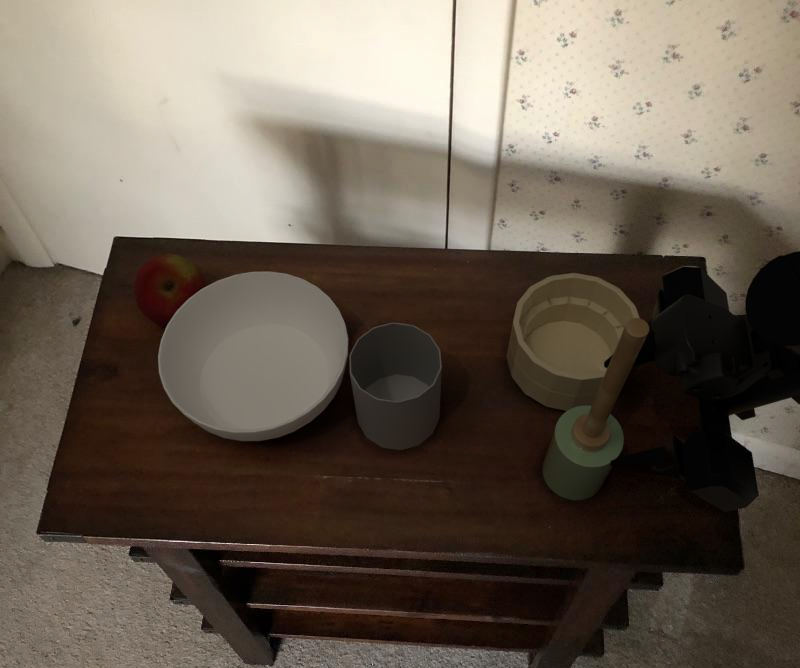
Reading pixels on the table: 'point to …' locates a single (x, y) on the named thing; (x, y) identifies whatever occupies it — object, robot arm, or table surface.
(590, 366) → the mixing bowl
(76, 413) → the table surface
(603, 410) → the stirring stick
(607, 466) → the green cylinder pedestal
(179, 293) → the apple
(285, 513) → the table surface
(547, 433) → the table surface
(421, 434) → the cup
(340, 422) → the table surface
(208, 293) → the bowl
